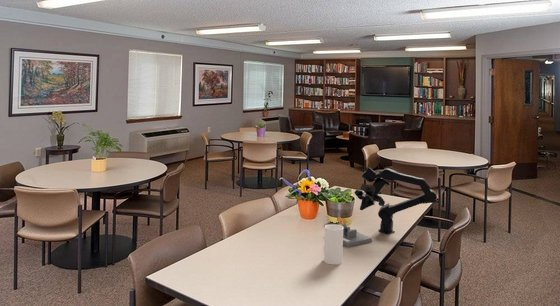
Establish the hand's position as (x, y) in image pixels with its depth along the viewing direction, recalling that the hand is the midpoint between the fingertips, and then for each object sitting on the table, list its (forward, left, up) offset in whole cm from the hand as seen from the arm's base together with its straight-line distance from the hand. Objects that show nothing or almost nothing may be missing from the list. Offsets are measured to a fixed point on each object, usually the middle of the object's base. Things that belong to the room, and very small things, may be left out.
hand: (360, 209), depth 230 cm
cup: (+37, +22, -14) cm, 45 cm away
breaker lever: (+11, +3, -10) cm, 15 cm away
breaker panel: (+11, +3, -14) cm, 17 cm away
